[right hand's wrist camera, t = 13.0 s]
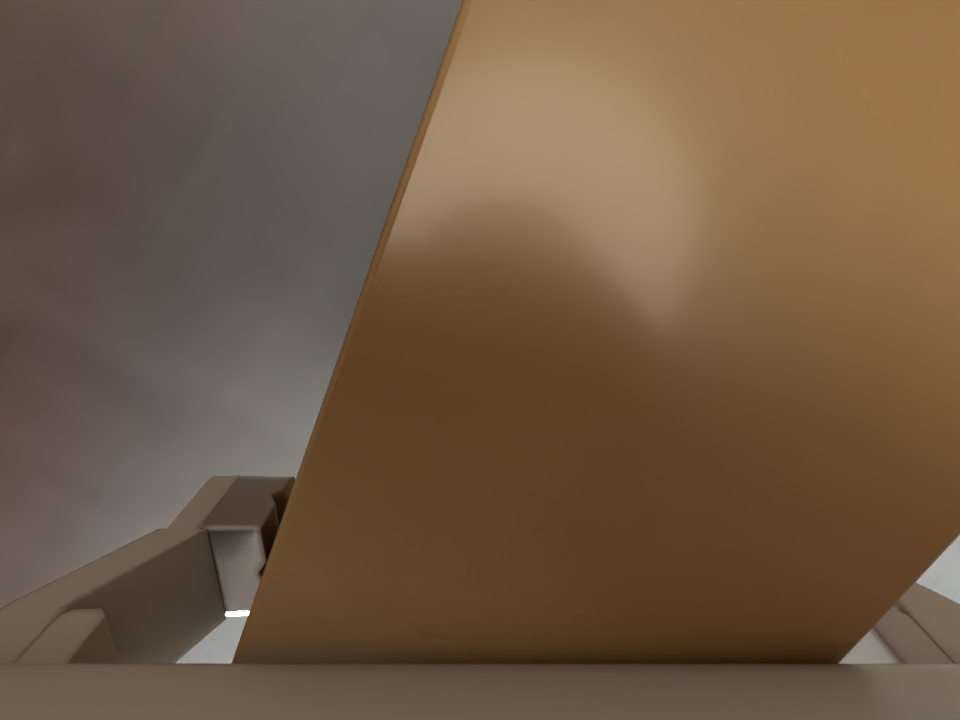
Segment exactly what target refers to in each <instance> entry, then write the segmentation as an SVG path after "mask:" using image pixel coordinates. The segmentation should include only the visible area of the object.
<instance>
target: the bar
mask: <svg viewBox="0 0 960 720" xmlns="http://www.w3.org/2000/svg"><path fill="white" fill-rule="evenodd" d="M959 535H960V0H463V2H462V5H461V7H460V10H459V13H458V16H457V19H456V22H455V25H454V27H453V30H452V33H451V36H450V39H449V42H448V45H447V48H446V50H445V53H444V56H443V59H442V62H441V65H440V68H439V70H438V73H437V76H436V79H435V82H434V85H433V88H432V91H431V93H430V96H429V99H428V102H427V105H426V108H425V111H424V113H423V116H422V119H421V122H420V125H419V128H418V131H417V134H416V136H415V139H414V142H413V145H412V148H411V151H410V154H409V156H408V159H407V162H406V165H405V168H404V171H403V174H402V177H401V179H400V182H399V185H398V188H397V191H396V194H395V197H394V199H393V202H392V205H391V208H390V211H389V214H388V217H387V219H386V222H385V225H384V228H383V231H382V234H381V237H380V240H379V242H378V245H377V248H376V251H375V254H374V257H373V260H372V262H371V265H370V268H369V271H368V274H367V277H366V280H365V283H364V285H363V288H362V291H361V294H360V297H359V300H358V303H357V305H356V308H355V311H354V314H353V317H352V320H351V323H350V326H349V328H348V331H347V334H346V337H345V340H344V343H343V346H342V348H341V351H340V354H339V357H338V360H337V363H336V366H335V368H334V371H333V374H332V377H331V380H330V383H329V386H328V389H327V391H326V394H325V397H324V400H323V403H322V406H321V409H320V411H319V414H318V417H317V420H316V423H315V426H314V429H313V432H312V434H311V437H310V440H309V443H308V446H307V449H306V452H305V454H304V457H303V460H302V463H301V466H300V469H299V472H298V475H297V477H296V480H295V483H294V486H293V489H292V492H291V495H290V497H289V500H288V503H287V506H286V509H285V512H284V515H283V517H282V520H281V523H280V526H279V529H278V532H277V535H276V538H275V540H274V543H273V546H272V549H271V552H270V555H269V558H268V560H267V563H266V566H265V569H264V572H263V575H262V578H261V581H260V583H259V586H258V589H257V592H256V595H255V598H254V601H253V603H252V606H251V609H250V612H249V615H248V618H247V621H246V624H245V626H244V629H243V632H242V635H241V638H240V641H239V644H238V646H237V649H236V652H235V655H234V658H233V661H232V664H839V663H840V662H841V661H842V660H843V659H844V658H845V657H846V656H847V654H848V653H849V652H850V651H851V650H852V649H853V648H854V647H855V646H856V645H857V644H858V643H859V642H860V641H861V640H862V638H863V637H864V636H865V635H866V634H867V633H868V632H869V631H870V630H871V629H872V628H873V627H874V626H875V625H876V623H877V622H878V621H879V620H880V619H881V618H882V617H883V616H884V615H885V614H886V613H887V612H888V611H889V610H890V609H891V607H892V606H893V605H894V604H895V603H896V602H897V601H898V600H899V599H900V598H901V597H902V596H903V595H904V594H905V593H906V591H907V590H908V589H909V588H910V587H911V586H912V585H913V584H914V583H915V582H916V581H917V580H918V579H919V578H920V577H921V575H922V574H923V573H924V572H925V571H926V570H927V569H928V568H929V567H930V566H931V565H932V564H933V563H934V562H935V560H936V559H937V558H938V557H939V556H940V555H941V554H942V553H943V552H944V551H945V550H946V549H947V548H948V547H949V546H950V544H951V543H952V542H953V541H954V540H955V539H956V538H957V537H958V536H959Z"/></svg>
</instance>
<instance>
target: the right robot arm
mask: <svg viewBox="0 0 960 720" xmlns="http://www.w3.org/2000/svg"><path fill="white" fill-rule="evenodd" d="M295 480H296V479H295V478H294V477H267V476H242V477H241V476H215V477H211V478H210V479H209V480H208V481H207V482H206V483H205V485H204V486H203V487H202V488H201V489H200V490H199V492H198V493H197V494H196V495H195V496H194V498H193V499H192V500H191V501H190V502H189V503H188V505H187V506H186V507H185V508H184V509H183V510H182V512H181V513H180V514H179V515H178V516H177V518H176V519H175V520H174V521H173V522H172V523H171V525H170V526H169V527H168V528H167V529H157V530H155V531H153V532H151V533H149V534H147V535H145V536H143V537H141V538H139V539H137V540H135V541H133V542H131V543H129V544H127V545H125V546H123V547H121V548H119V549H117V550H115V551H113V552H111V553H109V554H107V555H105V556H103V557H101V558H99V559H97V560H95V561H93V562H91V563H89V564H87V565H85V566H83V567H81V568H79V569H77V570H75V571H73V572H71V573H69V574H67V575H65V576H63V577H61V578H59V579H57V580H55V581H53V582H51V583H49V584H47V585H45V586H43V587H41V588H39V589H37V590H35V591H33V592H31V593H29V594H27V595H25V596H23V597H21V598H19V599H17V600H15V601H13V602H11V603H9V604H7V605H5V606H3V607H2V608H1V609H0V720H960V604H958V603H956V602H954V601H952V600H950V599H948V598H946V597H944V596H942V595H940V594H938V593H936V592H934V591H932V590H930V589H928V588H926V587H924V586H922V585H920V584H918V583H916V582H915V583H914V584H913V585H912V586H911V587H910V588H909V589H908V590H907V591H906V593H905V594H904V595H903V596H902V597H901V598H900V599H899V600H898V601H897V602H896V603H895V604H894V605H893V606H892V607H891V609H890V610H889V611H888V612H887V613H886V614H885V615H884V616H883V617H882V618H881V619H880V620H879V621H878V622H877V623H876V625H875V626H874V627H873V628H872V629H871V630H870V631H869V632H868V633H867V634H866V635H865V636H864V637H863V638H862V640H861V641H860V642H859V643H858V644H857V645H856V646H855V647H854V648H853V649H852V650H851V651H850V652H849V653H848V654H847V656H846V657H845V658H844V659H843V660H842V661H841V662H840V663H839V664H174V663H175V662H176V661H177V660H179V659H180V658H181V657H182V656H183V655H184V654H186V653H187V652H188V651H189V650H190V649H191V648H193V647H194V646H195V645H196V644H197V643H198V642H200V641H201V640H202V639H203V638H204V637H205V636H207V635H208V634H209V633H210V632H211V631H212V630H214V629H215V628H216V627H217V626H218V625H219V624H220V623H222V622H223V621H224V620H225V619H226V616H248V615H249V612H250V609H251V606H252V603H253V601H254V598H255V595H256V592H257V589H258V586H259V583H260V581H261V578H262V575H263V572H264V569H265V566H266V563H267V560H268V558H269V555H270V552H271V549H272V546H273V543H274V540H275V538H276V535H277V532H278V529H279V526H280V523H281V520H282V517H283V515H284V512H285V509H286V506H287V503H288V500H289V497H290V495H291V492H292V489H293V486H294V483H295Z"/></svg>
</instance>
